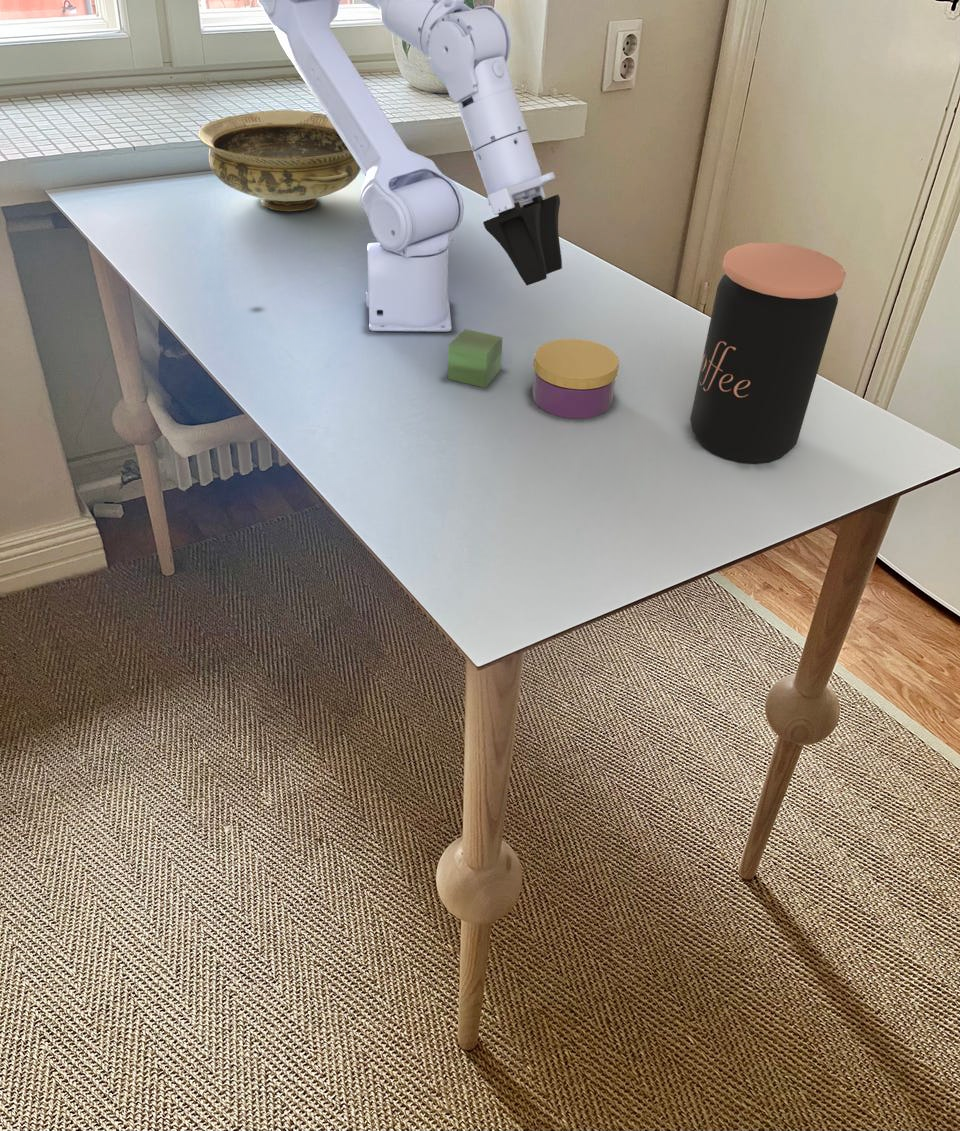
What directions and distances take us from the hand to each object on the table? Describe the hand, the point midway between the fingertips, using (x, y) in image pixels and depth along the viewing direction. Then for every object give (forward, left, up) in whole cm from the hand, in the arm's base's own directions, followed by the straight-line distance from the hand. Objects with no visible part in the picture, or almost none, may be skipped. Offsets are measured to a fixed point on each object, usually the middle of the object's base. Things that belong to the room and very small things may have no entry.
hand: (545, 276), depth 100 cm
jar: (+3, -6, -11) cm, 13 cm away
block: (-7, -1, -11) cm, 13 cm away
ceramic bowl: (-31, +52, -11) cm, 61 cm away
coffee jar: (+19, -14, -11) cm, 26 cm away
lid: (+3, -6, -6) cm, 9 cm away
